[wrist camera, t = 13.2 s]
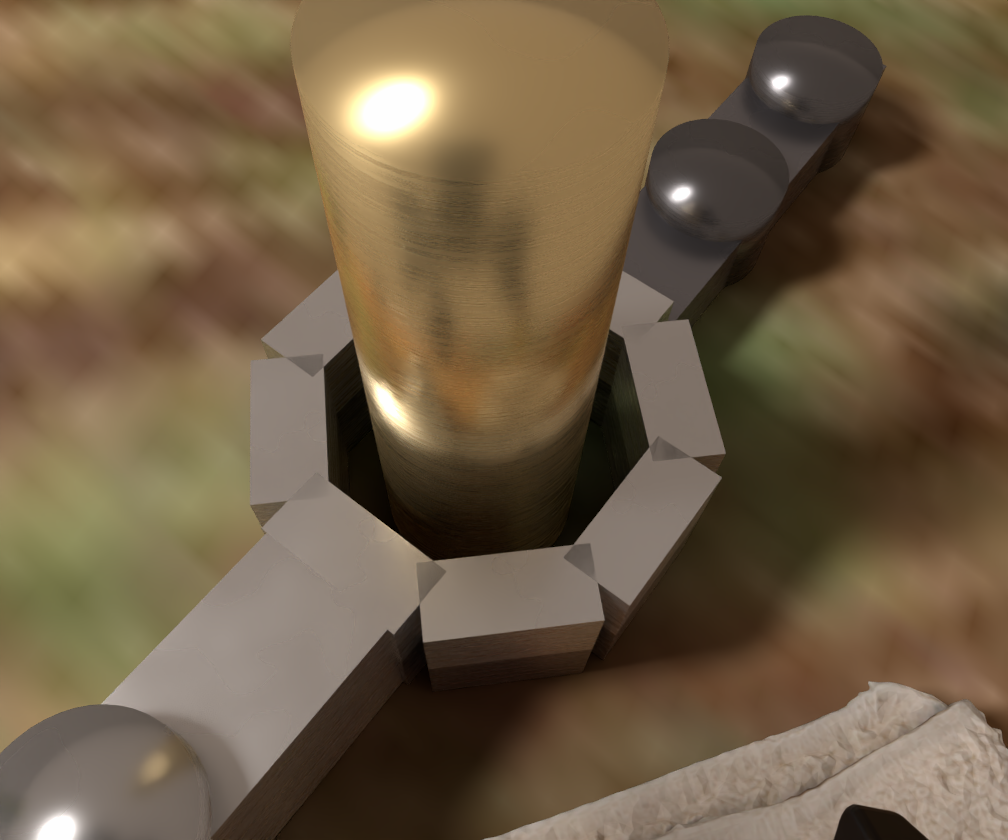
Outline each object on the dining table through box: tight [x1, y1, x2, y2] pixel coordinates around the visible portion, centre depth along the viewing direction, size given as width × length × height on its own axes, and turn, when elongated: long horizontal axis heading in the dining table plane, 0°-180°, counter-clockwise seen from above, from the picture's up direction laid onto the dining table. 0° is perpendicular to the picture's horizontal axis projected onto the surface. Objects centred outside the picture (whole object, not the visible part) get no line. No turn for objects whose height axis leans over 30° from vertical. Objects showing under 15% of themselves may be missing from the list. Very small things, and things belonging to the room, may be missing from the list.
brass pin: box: [290, 0, 669, 561], centre depth 16 cm, size 4×4×13 cm
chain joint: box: [0, 16, 886, 840], centre depth 20 cm, size 35×9×5 cm, turn 143°
